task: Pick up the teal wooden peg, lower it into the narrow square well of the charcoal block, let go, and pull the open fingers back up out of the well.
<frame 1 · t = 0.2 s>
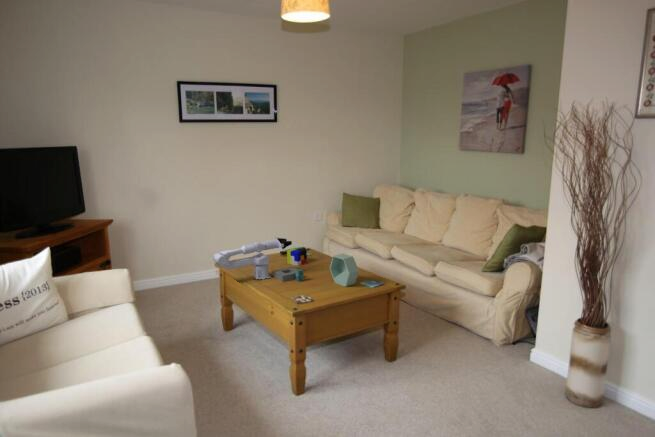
hand: (289, 241, 313), 21 cm above the table, tool horizontal, fingers open, 7 cm apart
well block: (287, 277, 306), on the table
planter: (344, 283, 292), on the table
teal peg: (299, 280, 299), on the table
puzzle toy: (297, 263, 338), on the table
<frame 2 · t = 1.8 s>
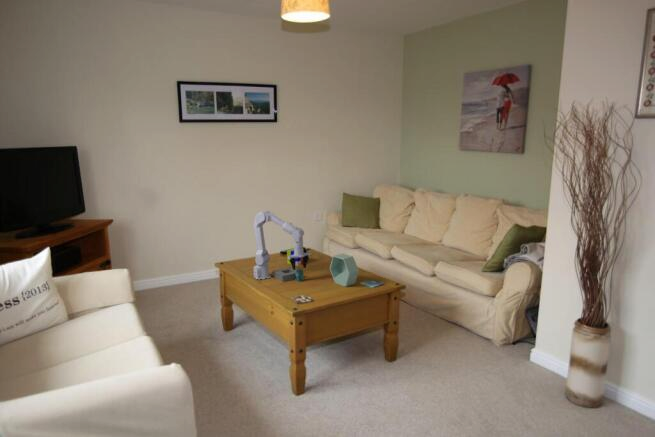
hand: (299, 268, 297), 8 cm above the table, tool pointing down, fingers open, 7 cm apart
nothing on the table moved.
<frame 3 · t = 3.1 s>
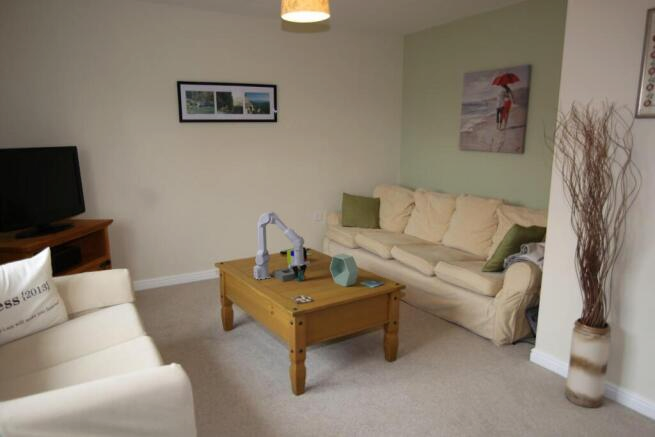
hand: (299, 277, 298), 2 cm above the table, tool pointing down, fingers closed on teal peg, 4 cm apart
teal peg: (299, 280, 299), on the table, touching gripper
everything else where it was.
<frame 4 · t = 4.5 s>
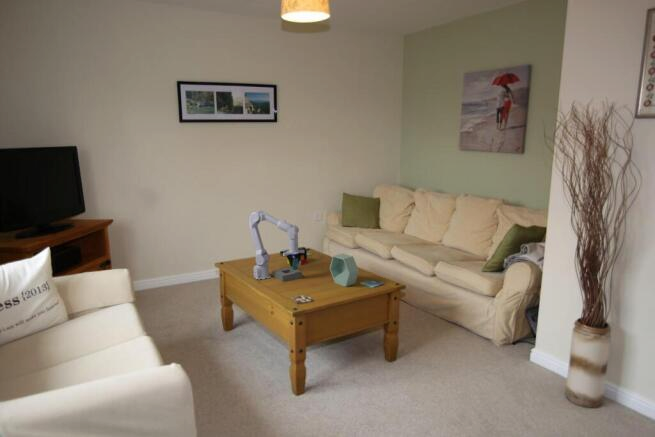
hand: (294, 265, 300), 9 cm above the table, tool pointing down, fingers closed on teal peg, 4 cm apart
teal peg: (294, 269, 300), point 7 cm above the table, touching gripper
everything else where it was.
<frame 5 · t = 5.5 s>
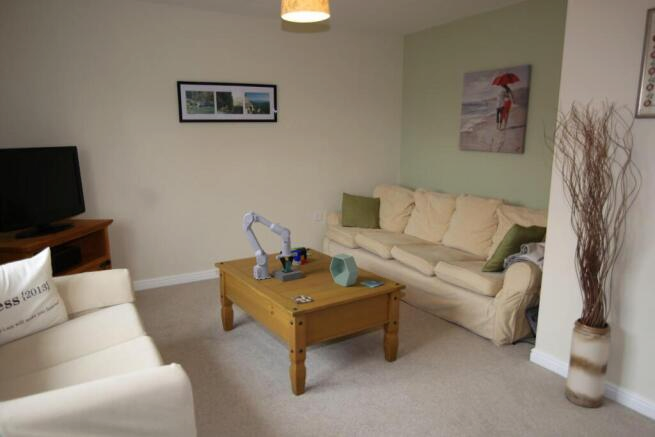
hand: (287, 267, 305), 6 cm above the table, tool pointing down, fingers closed on teal peg, 4 cm apart
teal peg: (287, 271, 306), point 4 cm above the table, touching gripper
everything else where it was.
when the fingers open (5 cm above the table, at t = 6.1 s): teal peg drops 1 cm, resting on well block.
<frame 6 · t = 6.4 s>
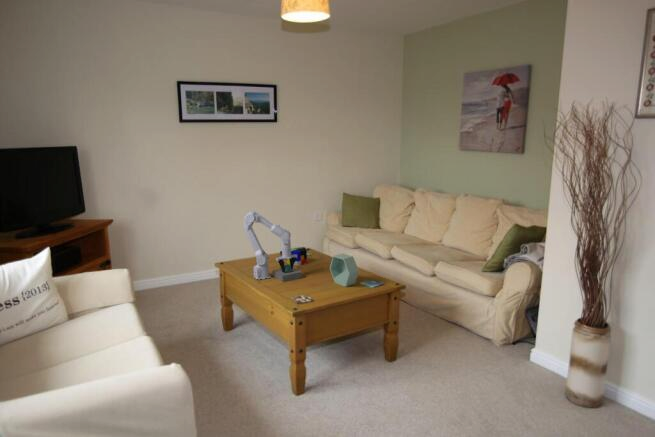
hand: (287, 269, 306), 5 cm above the table, tool pointing down, fingers open, 6 cm apart
teal peg: (287, 275, 306), point 1 cm above the table, touching well block
everything else where it was.
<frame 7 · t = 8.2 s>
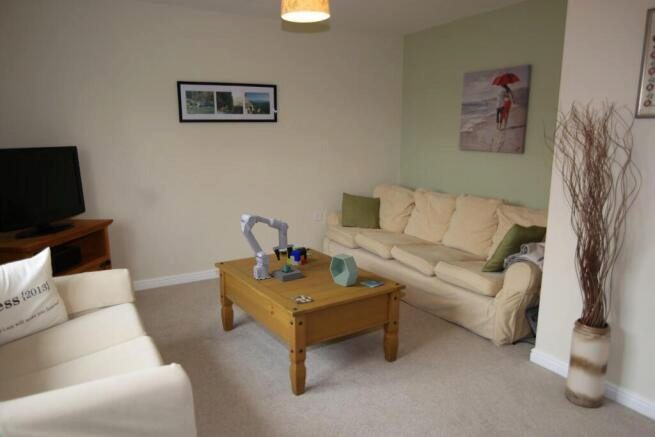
hand: (283, 259, 314), 9 cm above the table, tool pointing down, fingers open, 7 cm apart
nothing on the table moved.
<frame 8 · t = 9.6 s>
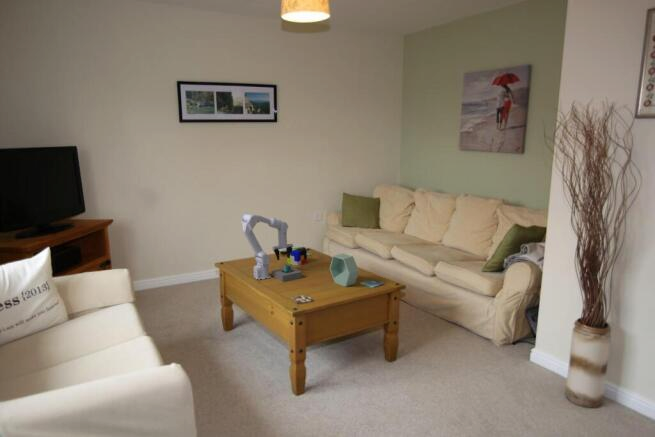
hand: (283, 258, 315), 9 cm above the table, tool pointing down, fingers open, 7 cm apart
nothing on the table moved.
at the end: teal peg 0.2 cm off-centre on the well block, point 1.0 cm above the well block's base; teal peg tilted 0°; the gripper is holding nothing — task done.
